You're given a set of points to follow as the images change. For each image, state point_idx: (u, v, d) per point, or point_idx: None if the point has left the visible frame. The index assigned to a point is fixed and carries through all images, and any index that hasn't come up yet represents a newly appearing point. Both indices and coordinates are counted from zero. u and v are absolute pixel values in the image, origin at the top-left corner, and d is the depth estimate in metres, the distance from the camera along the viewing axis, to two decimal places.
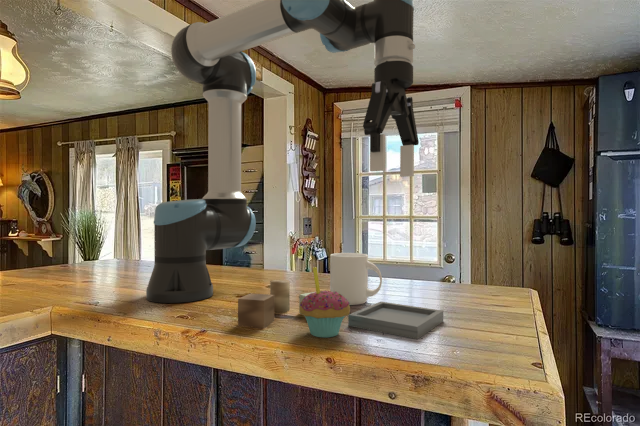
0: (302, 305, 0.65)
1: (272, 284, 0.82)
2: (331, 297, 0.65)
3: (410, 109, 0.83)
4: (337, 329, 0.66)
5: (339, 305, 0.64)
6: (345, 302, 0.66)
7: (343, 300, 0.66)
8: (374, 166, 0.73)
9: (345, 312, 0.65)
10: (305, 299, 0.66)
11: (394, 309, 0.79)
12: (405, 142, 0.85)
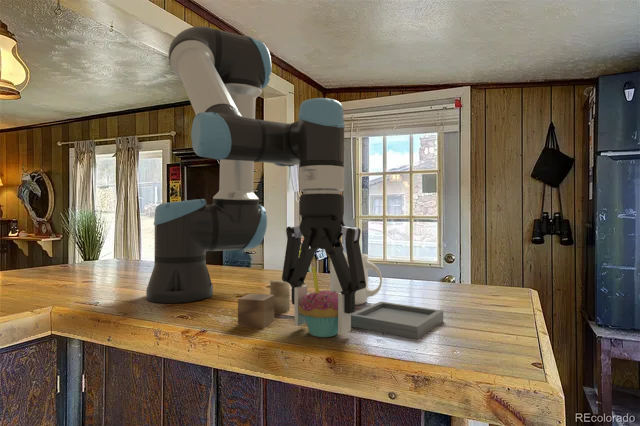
0: (301, 305, 0.66)
1: (272, 284, 0.82)
2: (330, 296, 0.65)
3: None
4: (336, 329, 0.66)
5: None
6: None
7: None
8: None
9: None
10: (304, 299, 0.66)
11: (394, 309, 0.79)
12: None
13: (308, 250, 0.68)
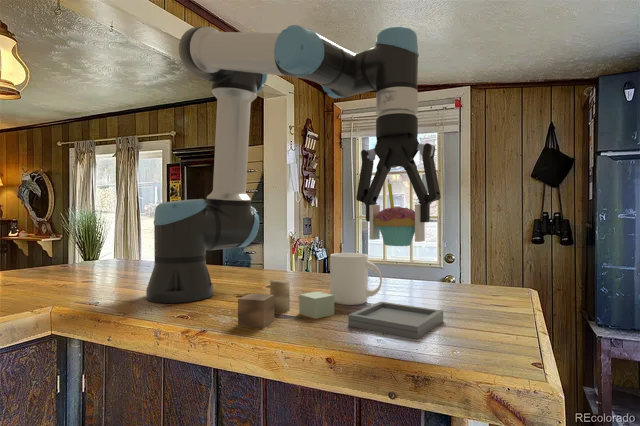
0: (379, 217, 0.71)
1: (272, 284, 0.82)
2: (406, 209, 0.71)
3: (423, 158, 0.69)
4: (410, 239, 0.72)
5: (414, 216, 0.70)
6: None
7: None
8: None
9: None
10: (381, 212, 0.72)
11: (394, 309, 0.79)
12: None
13: (383, 169, 0.73)
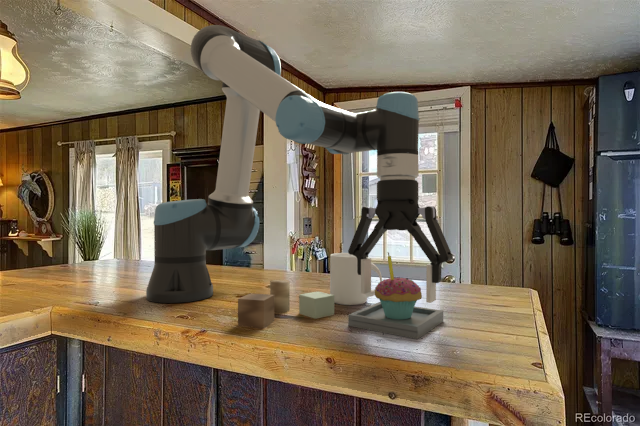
0: (379, 290, 0.72)
1: (272, 284, 0.82)
2: (406, 282, 0.72)
3: (426, 221, 0.69)
4: (411, 312, 0.72)
5: (414, 290, 0.71)
6: (418, 287, 0.72)
7: (416, 285, 0.72)
8: None
9: (419, 296, 0.71)
10: (381, 285, 0.72)
11: None
12: None
13: (381, 230, 0.74)
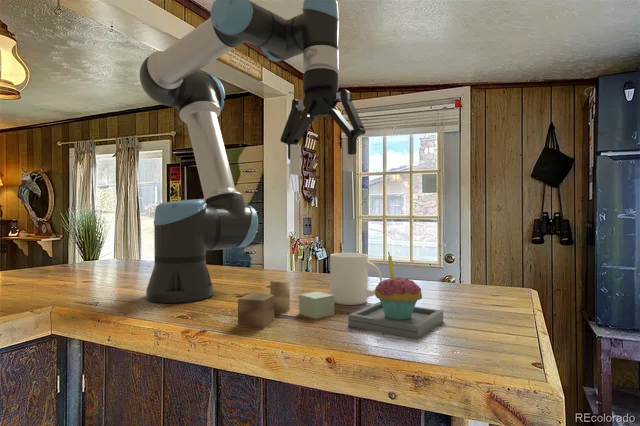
0: (379, 290, 0.72)
1: (272, 284, 0.82)
2: (406, 282, 0.72)
3: (342, 102, 0.80)
4: (411, 312, 0.72)
5: (414, 290, 0.71)
6: (418, 287, 0.72)
7: (416, 286, 0.72)
8: None
9: (419, 296, 0.71)
10: (381, 285, 0.72)
11: None
12: None
13: (306, 117, 0.85)
